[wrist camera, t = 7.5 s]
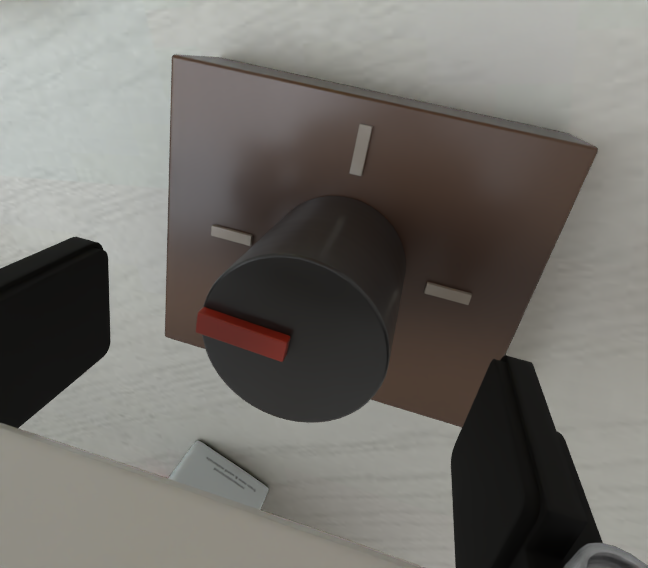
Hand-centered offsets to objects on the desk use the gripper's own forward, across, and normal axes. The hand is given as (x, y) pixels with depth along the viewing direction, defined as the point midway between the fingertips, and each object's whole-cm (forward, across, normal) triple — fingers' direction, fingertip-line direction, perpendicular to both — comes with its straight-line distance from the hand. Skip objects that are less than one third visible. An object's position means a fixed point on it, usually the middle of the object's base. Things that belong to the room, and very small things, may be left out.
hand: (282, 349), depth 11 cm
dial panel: (+8, 0, -1) cm, 8 cm away
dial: (+5, 0, -1) cm, 5 cm away
